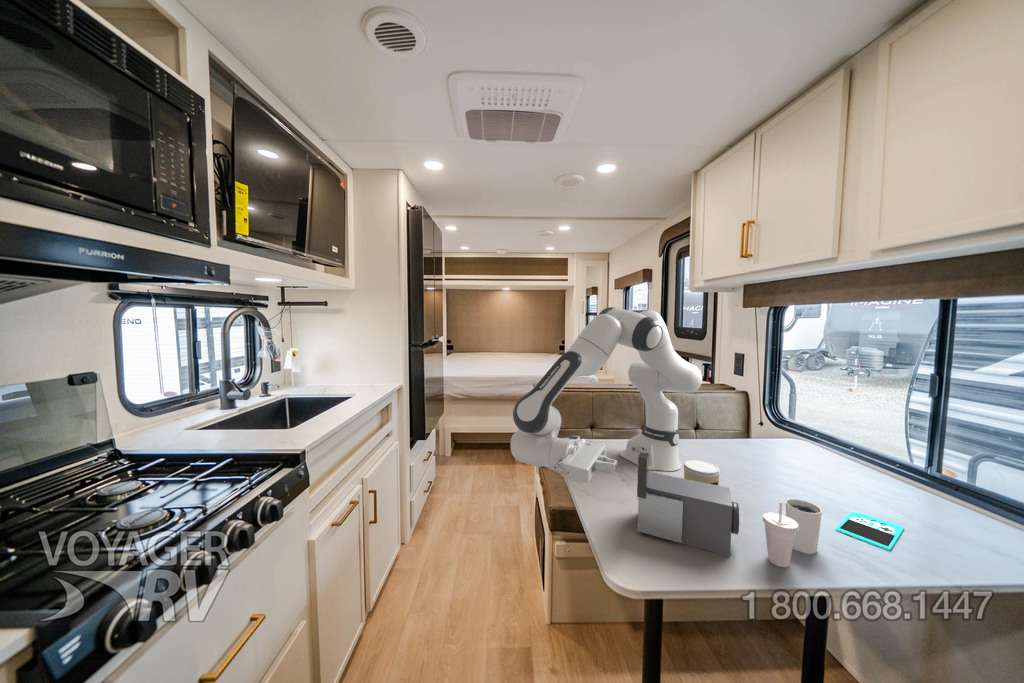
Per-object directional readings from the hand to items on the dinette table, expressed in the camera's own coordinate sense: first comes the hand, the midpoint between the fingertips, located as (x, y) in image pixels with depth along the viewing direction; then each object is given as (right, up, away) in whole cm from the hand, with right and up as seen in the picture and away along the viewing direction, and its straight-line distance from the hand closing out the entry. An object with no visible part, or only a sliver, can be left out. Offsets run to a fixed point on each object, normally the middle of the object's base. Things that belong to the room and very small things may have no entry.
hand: (616, 465), depth 89 cm
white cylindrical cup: (+43, -18, -5) cm, 47 cm away
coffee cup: (+28, -16, +13) cm, 35 cm away
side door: (+9, -16, -4) cm, 19 cm away
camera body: (+17, -17, 0) cm, 24 cm away
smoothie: (+33, -18, -11) cm, 39 cm away
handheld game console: (+66, -18, +1) cm, 69 cm away
